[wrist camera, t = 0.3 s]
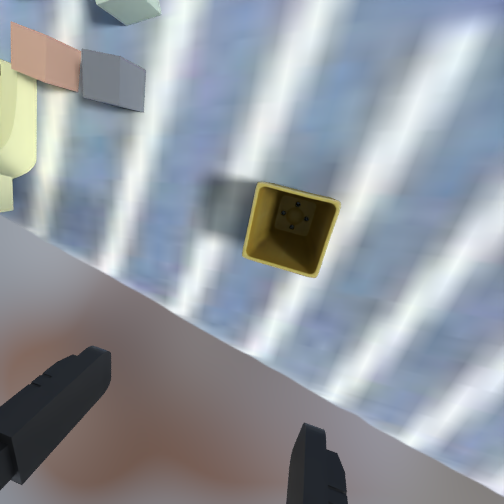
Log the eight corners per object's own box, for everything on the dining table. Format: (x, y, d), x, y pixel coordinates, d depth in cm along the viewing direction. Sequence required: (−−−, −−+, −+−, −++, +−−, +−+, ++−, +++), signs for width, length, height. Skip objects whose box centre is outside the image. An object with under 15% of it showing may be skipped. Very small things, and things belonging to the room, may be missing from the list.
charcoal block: (112, 63, 35) (81, 48, 30) (146, 70, 34) (120, 56, 30) (111, 105, 37) (82, 97, 32) (144, 112, 36) (119, 105, 31)
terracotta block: (50, 39, 36) (10, 21, 31) (81, 51, 35) (46, 35, 31) (48, 80, 38) (11, 68, 33) (78, 92, 37) (44, 82, 32)
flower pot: (256, 236, 38) (240, 257, 30) (270, 175, 35) (256, 180, 27) (316, 253, 37) (316, 279, 29) (336, 191, 34) (343, 201, 25)
